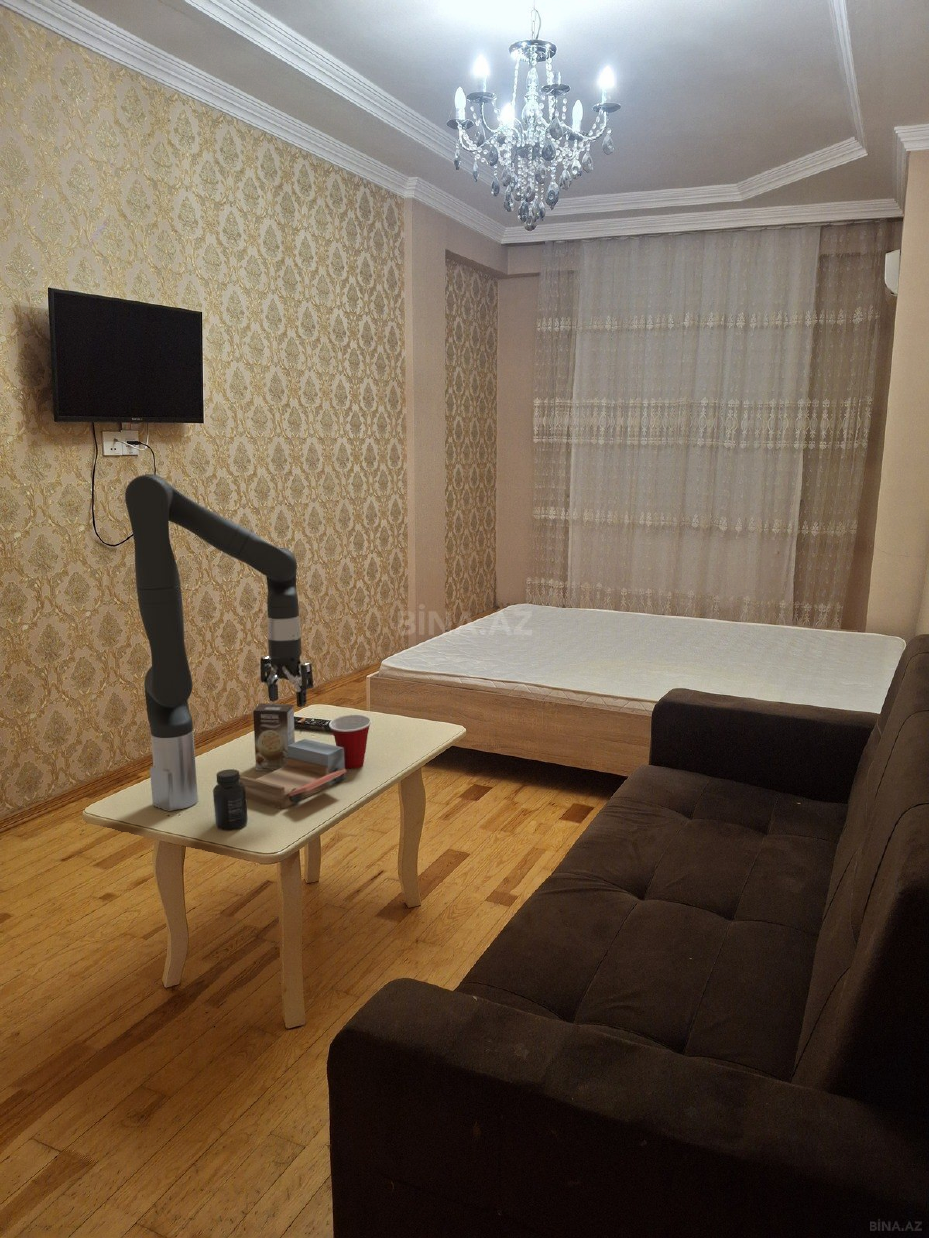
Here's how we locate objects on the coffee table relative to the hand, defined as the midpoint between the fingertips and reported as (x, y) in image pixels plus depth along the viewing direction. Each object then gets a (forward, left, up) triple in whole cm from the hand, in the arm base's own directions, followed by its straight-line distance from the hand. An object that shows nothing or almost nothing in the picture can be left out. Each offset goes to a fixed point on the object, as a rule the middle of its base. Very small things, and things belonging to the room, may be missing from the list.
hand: (287, 703), depth 209 cm
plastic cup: (+22, 0, -22) cm, 31 cm away
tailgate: (0, -6, -19) cm, 20 cm away
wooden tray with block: (+3, +1, -22) cm, 22 cm away
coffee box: (+11, +16, -22) cm, 29 cm away
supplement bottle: (-20, -1, -22) cm, 30 cm away
